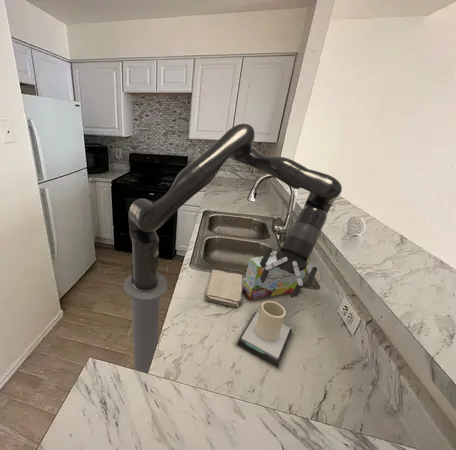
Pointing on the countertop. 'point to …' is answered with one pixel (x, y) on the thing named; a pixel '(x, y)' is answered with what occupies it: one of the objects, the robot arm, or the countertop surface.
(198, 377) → the countertop surface
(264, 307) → the ceramic cup
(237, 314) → the countertop surface
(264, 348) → the kitchen scale
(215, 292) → the washcloth
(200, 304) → the countertop surface
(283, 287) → the snack box
